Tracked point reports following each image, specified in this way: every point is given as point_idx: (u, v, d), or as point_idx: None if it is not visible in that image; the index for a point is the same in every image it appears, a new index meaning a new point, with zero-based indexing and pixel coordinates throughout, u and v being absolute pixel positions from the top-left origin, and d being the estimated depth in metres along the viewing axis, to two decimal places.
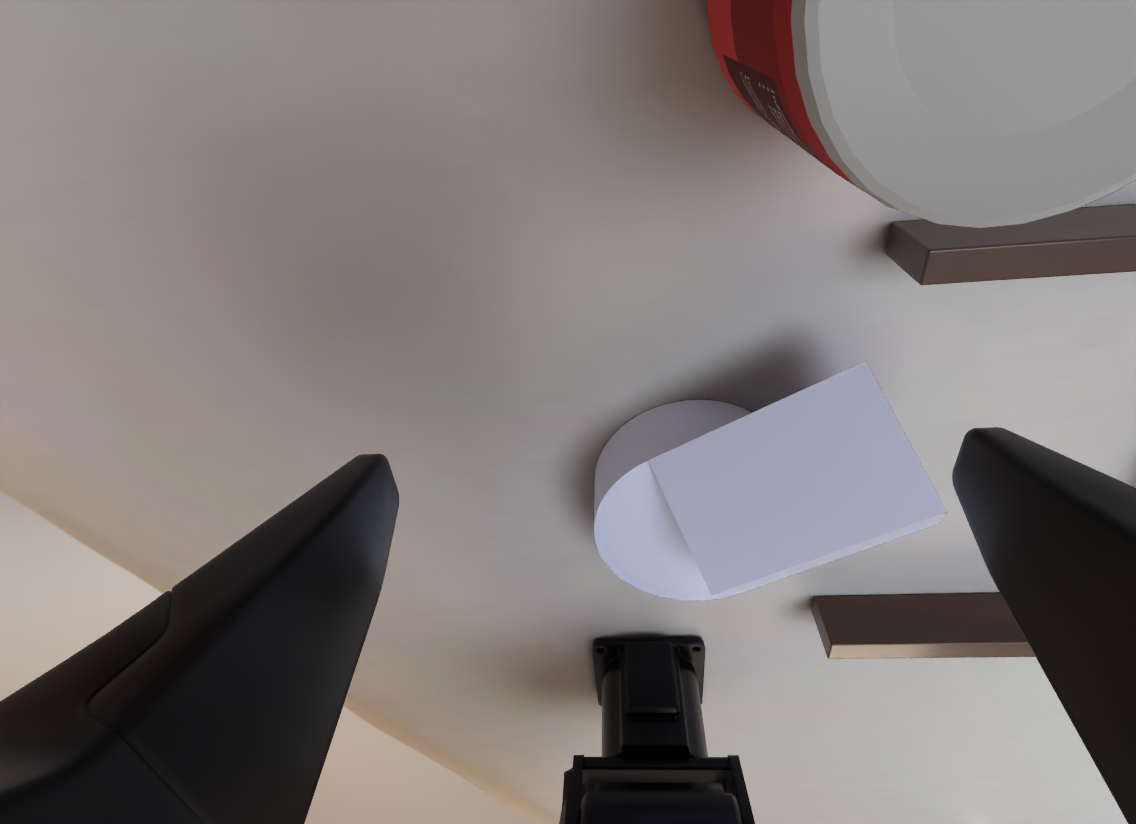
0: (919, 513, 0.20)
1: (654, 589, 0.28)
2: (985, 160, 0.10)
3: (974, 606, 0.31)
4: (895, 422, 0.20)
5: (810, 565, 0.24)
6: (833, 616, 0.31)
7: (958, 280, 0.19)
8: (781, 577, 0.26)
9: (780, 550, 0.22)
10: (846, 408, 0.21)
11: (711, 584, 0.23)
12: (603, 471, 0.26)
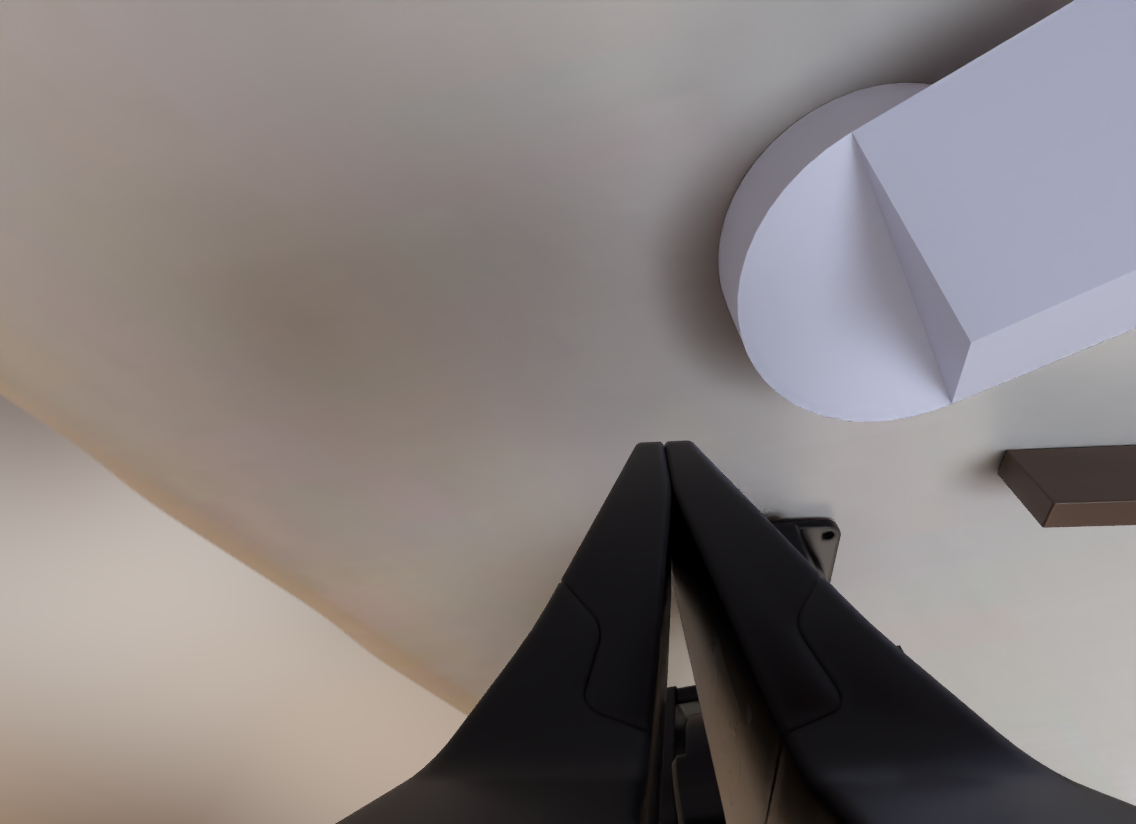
0: None
1: (815, 401, 0.18)
2: None
3: None
4: None
5: (1106, 319, 0.15)
6: (1043, 471, 0.22)
7: None
8: (1032, 361, 0.17)
9: (1112, 243, 0.12)
10: None
11: (971, 323, 0.13)
12: (750, 201, 0.17)
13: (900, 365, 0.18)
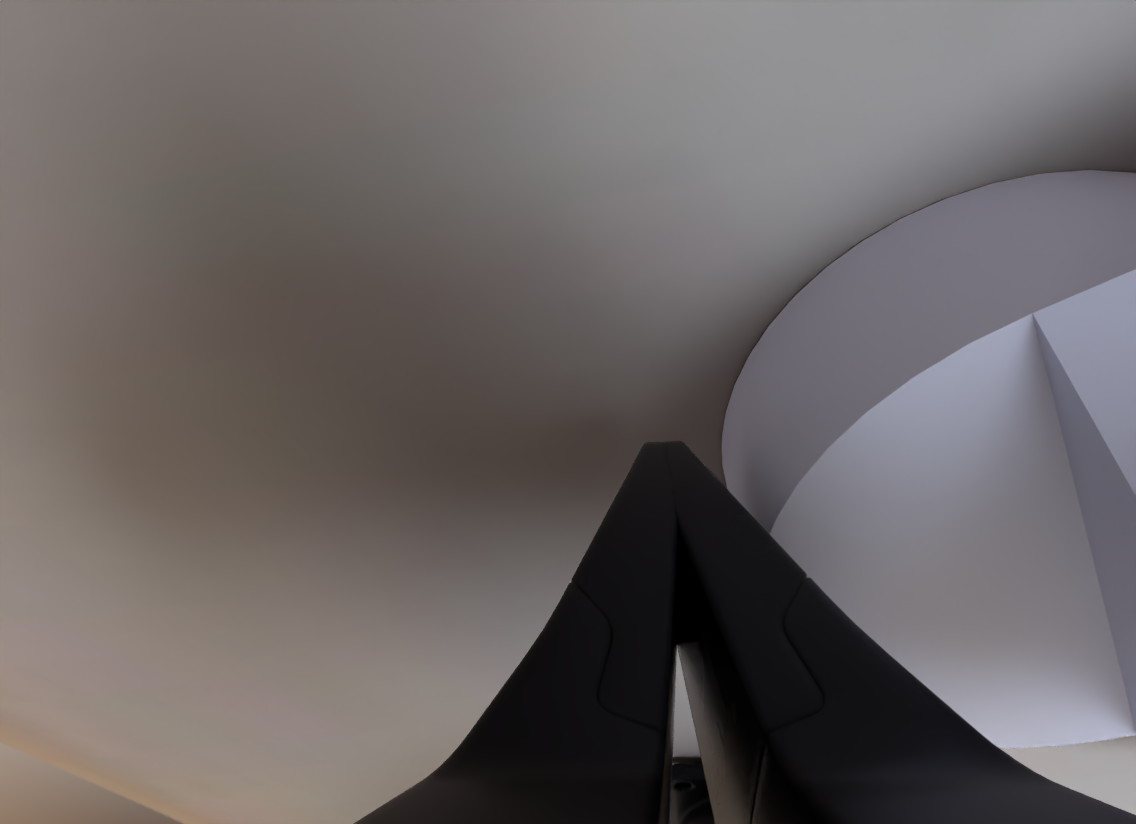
0: None
1: None
2: None
3: None
4: None
5: None
6: None
7: None
8: None
9: None
10: None
11: None
12: (783, 388, 0.09)
13: (1054, 682, 0.10)
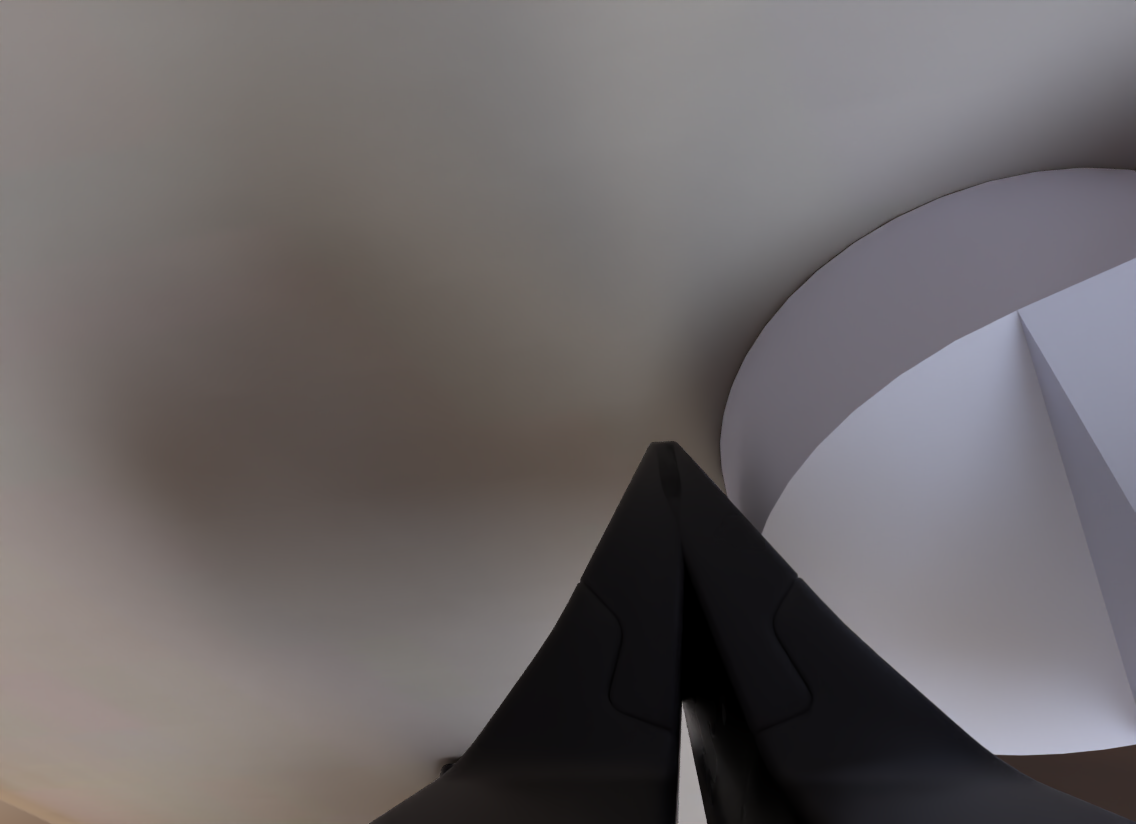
0: None
1: None
2: None
3: None
4: None
5: None
6: None
7: None
8: None
9: None
10: None
11: None
12: (776, 389, 0.09)
13: (1059, 688, 0.09)
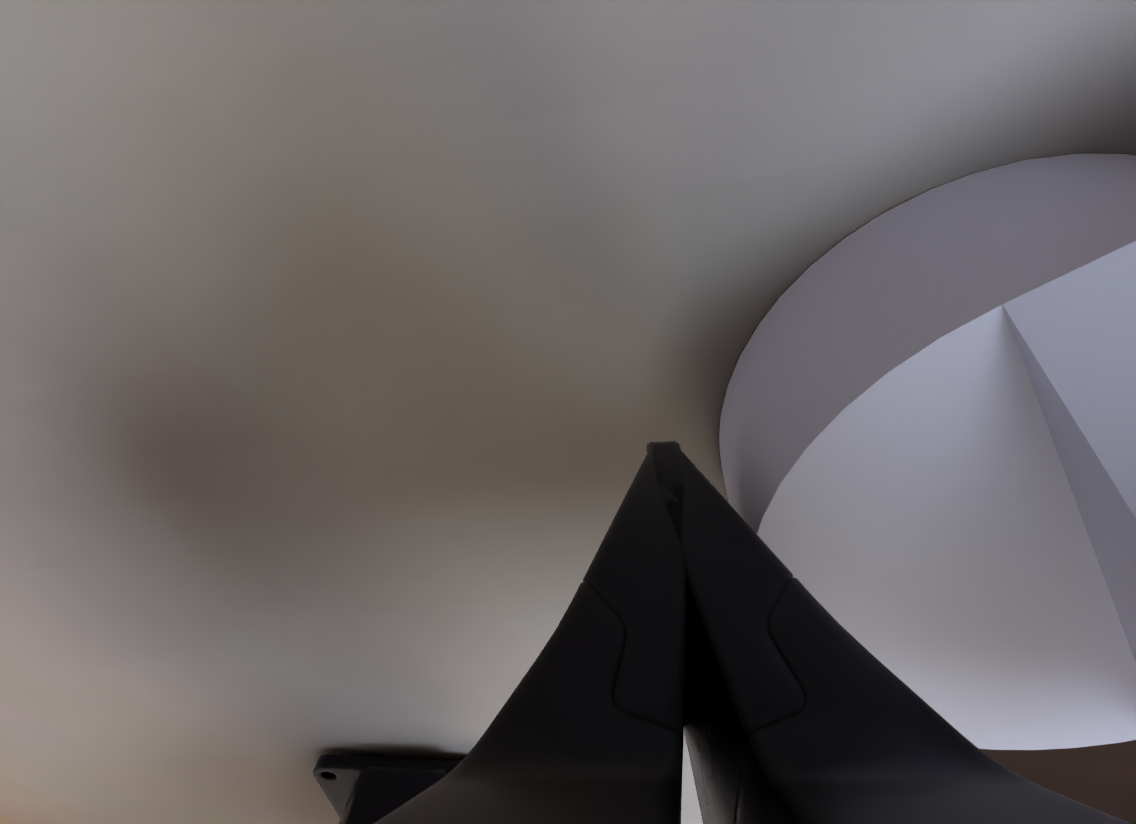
0: None
1: None
2: None
3: None
4: None
5: None
6: None
7: None
8: None
9: None
10: None
11: None
12: (769, 389, 0.09)
13: (1068, 682, 0.09)
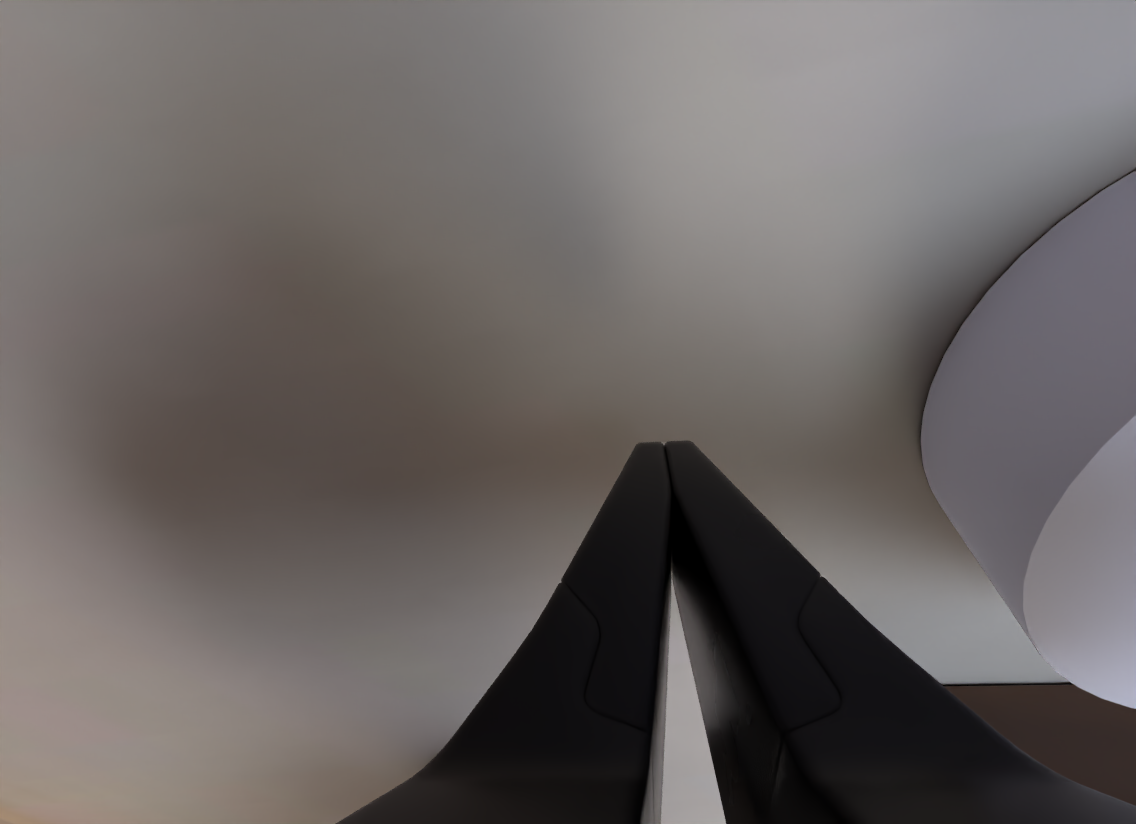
0: None
1: None
2: None
3: None
4: None
5: None
6: None
7: None
8: None
9: None
10: None
11: None
12: (1038, 352, 0.08)
13: None
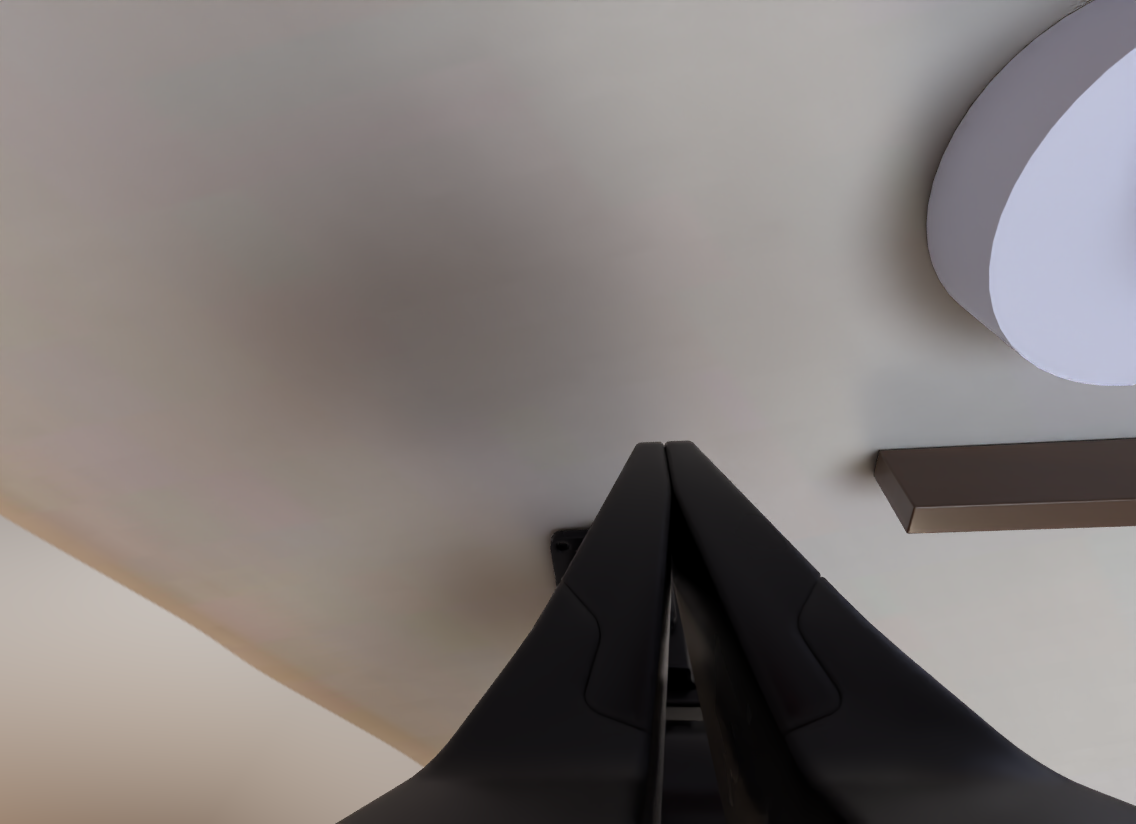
0: None
1: (1067, 365, 0.16)
2: None
3: (1132, 453, 0.20)
4: None
5: None
6: (912, 472, 0.20)
7: None
8: None
9: None
10: None
11: None
12: (998, 128, 0.14)
13: None
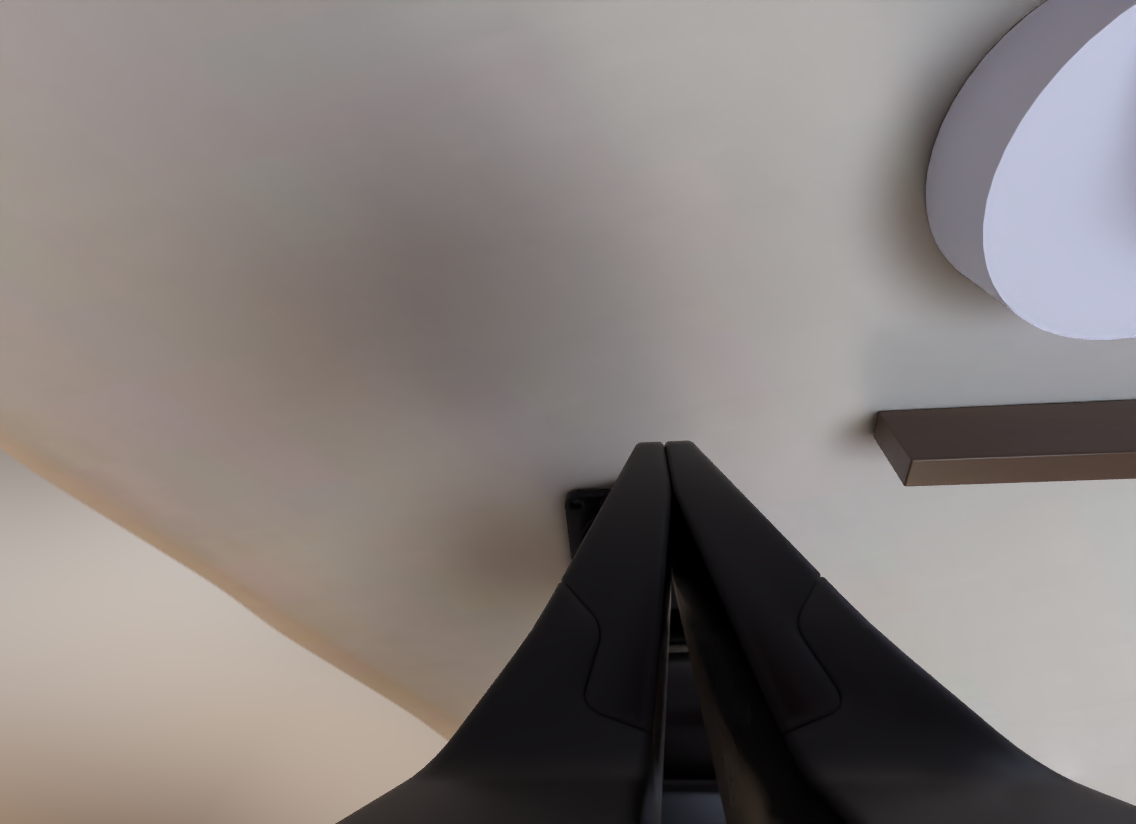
0: None
1: (1055, 319, 0.17)
2: None
3: (1116, 413, 0.21)
4: None
5: None
6: (910, 430, 0.22)
7: None
8: None
9: None
10: None
11: None
12: (992, 96, 0.15)
13: None
